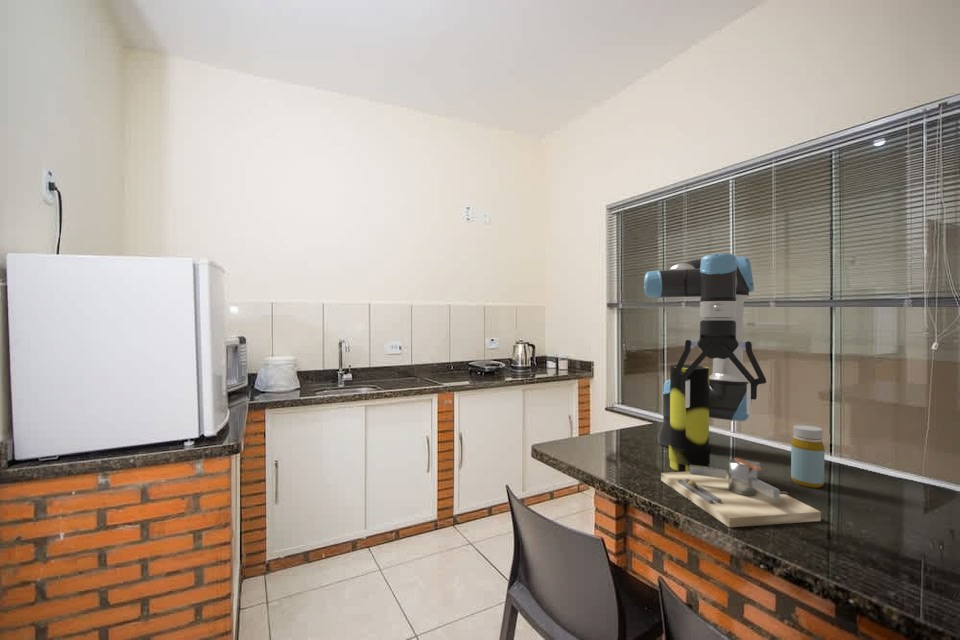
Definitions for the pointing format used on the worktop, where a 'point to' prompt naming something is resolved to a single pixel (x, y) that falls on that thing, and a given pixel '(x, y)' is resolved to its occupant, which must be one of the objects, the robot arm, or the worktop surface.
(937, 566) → the worktop surface
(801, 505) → the stand
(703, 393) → the container
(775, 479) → the worktop surface
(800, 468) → the bottle
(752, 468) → the capstan
